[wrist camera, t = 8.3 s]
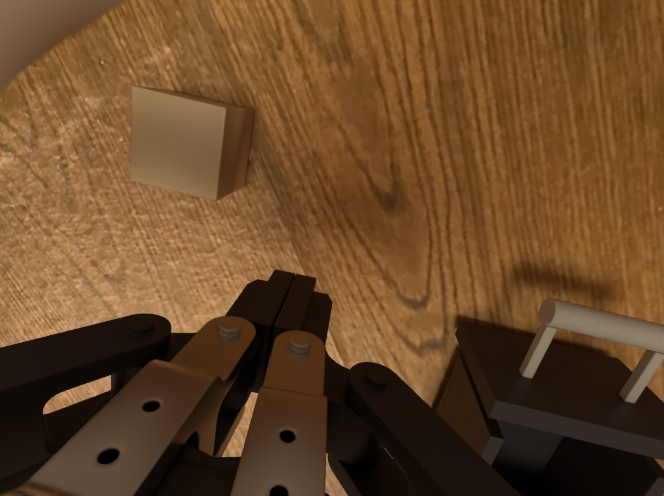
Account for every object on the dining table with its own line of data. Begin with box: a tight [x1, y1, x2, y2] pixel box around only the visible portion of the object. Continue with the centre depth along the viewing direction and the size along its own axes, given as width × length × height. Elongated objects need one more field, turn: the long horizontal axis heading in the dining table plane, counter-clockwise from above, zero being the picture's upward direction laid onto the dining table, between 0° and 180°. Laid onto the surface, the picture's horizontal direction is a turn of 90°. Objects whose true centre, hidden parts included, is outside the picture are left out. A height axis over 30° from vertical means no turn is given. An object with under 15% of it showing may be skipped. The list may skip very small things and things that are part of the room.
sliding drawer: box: [436, 298, 664, 496], centre depth 24 cm, size 18×11×8 cm, turn 168°
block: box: [130, 86, 255, 201], centre depth 22 cm, size 5×5×5 cm
